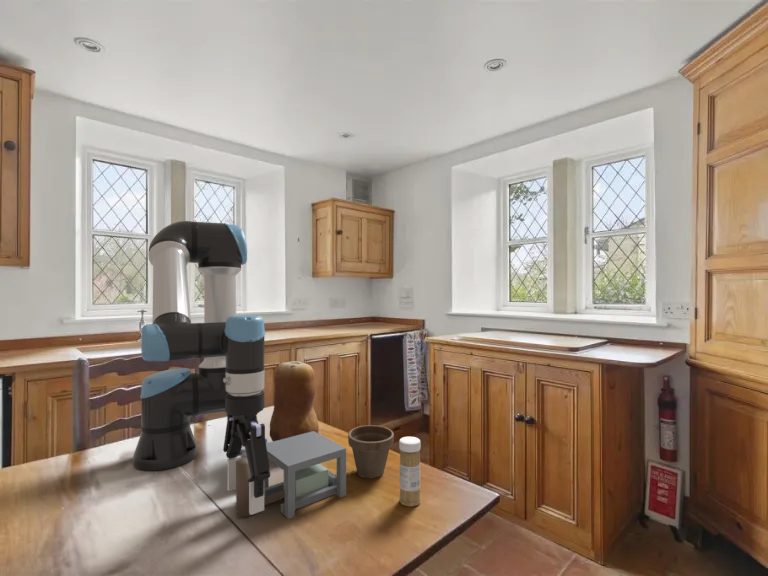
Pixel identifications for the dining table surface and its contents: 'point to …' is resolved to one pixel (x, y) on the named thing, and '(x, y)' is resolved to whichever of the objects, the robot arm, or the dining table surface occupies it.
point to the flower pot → (370, 449)
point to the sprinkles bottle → (409, 471)
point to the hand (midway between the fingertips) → (245, 499)
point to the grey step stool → (302, 455)
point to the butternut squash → (293, 401)
